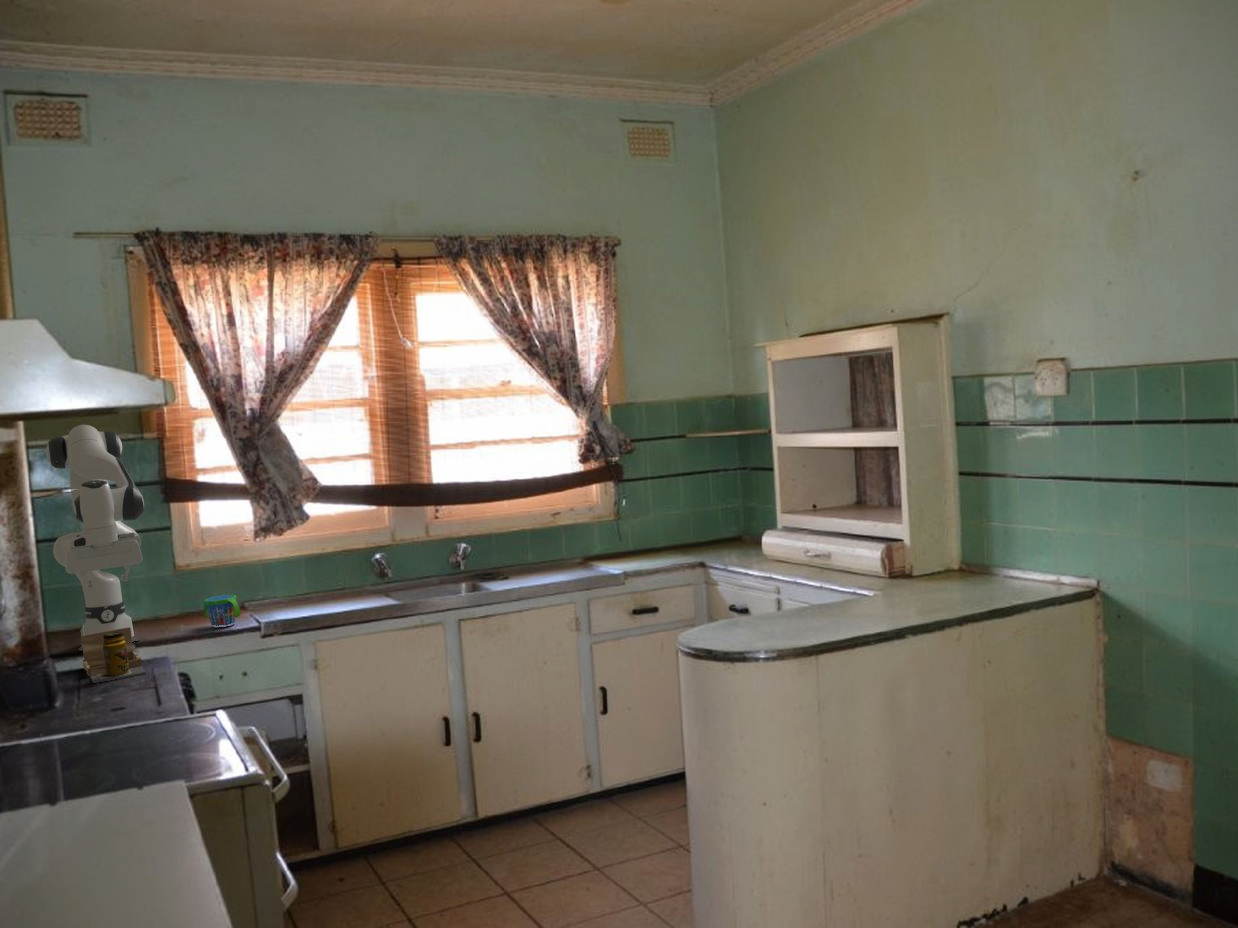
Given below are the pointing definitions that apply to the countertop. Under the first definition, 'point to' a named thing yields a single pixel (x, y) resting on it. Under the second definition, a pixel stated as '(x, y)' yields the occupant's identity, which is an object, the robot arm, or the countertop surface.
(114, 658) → the condiment
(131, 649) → the carton
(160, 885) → the countertop surface
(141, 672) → the mat
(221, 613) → the snack cup
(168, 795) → the countertop surface
